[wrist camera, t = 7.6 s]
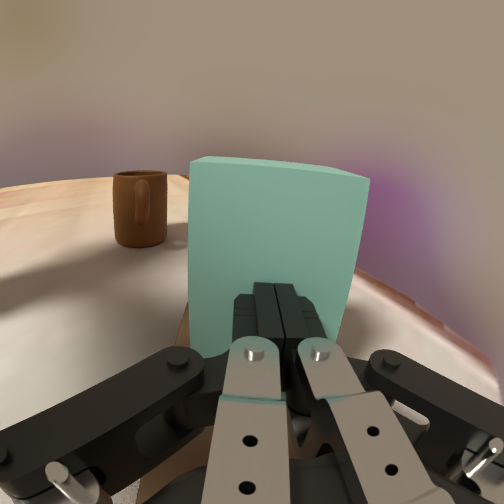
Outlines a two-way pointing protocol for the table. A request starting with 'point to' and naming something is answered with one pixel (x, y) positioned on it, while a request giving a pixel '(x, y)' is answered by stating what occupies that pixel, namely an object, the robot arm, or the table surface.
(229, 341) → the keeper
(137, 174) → the mug
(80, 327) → the table surface
